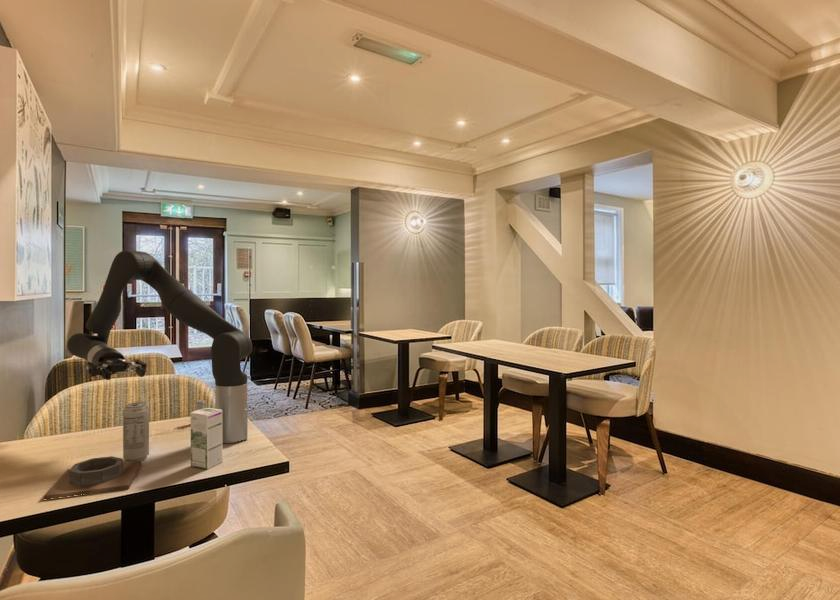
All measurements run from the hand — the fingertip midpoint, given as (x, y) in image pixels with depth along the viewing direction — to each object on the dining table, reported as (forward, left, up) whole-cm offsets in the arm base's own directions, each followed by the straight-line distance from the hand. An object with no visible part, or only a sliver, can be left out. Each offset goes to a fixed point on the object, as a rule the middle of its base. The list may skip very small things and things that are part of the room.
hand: (126, 375), depth 131 cm
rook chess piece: (-18, -23, -22) cm, 36 cm away
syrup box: (-22, +19, -22) cm, 36 cm away
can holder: (+2, +21, -22) cm, 30 cm away
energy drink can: (-4, +8, -22) cm, 24 cm away
